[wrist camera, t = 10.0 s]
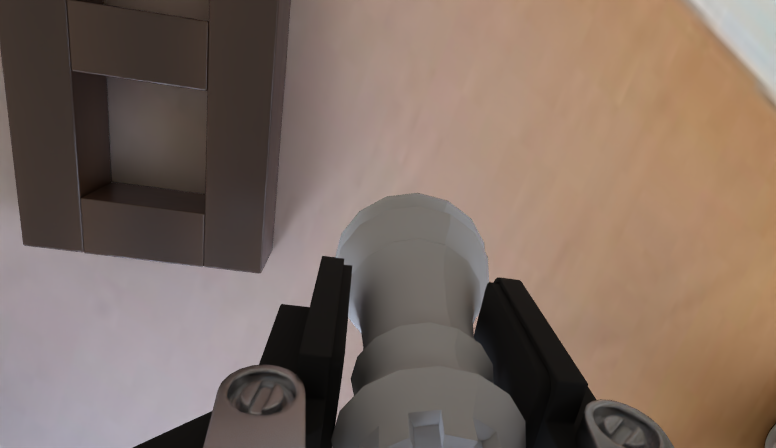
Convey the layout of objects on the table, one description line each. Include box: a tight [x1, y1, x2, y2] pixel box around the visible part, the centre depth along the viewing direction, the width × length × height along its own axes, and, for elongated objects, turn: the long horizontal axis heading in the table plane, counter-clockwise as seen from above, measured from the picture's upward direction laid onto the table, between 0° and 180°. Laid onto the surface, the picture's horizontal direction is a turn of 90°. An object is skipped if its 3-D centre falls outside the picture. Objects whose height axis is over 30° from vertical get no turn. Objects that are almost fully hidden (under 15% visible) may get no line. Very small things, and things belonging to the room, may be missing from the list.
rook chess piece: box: [331, 193, 526, 448], centre depth 11 cm, size 4×4×8 cm
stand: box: [0, 0, 291, 273], centre depth 18 cm, size 10×17×2 cm, turn 171°
